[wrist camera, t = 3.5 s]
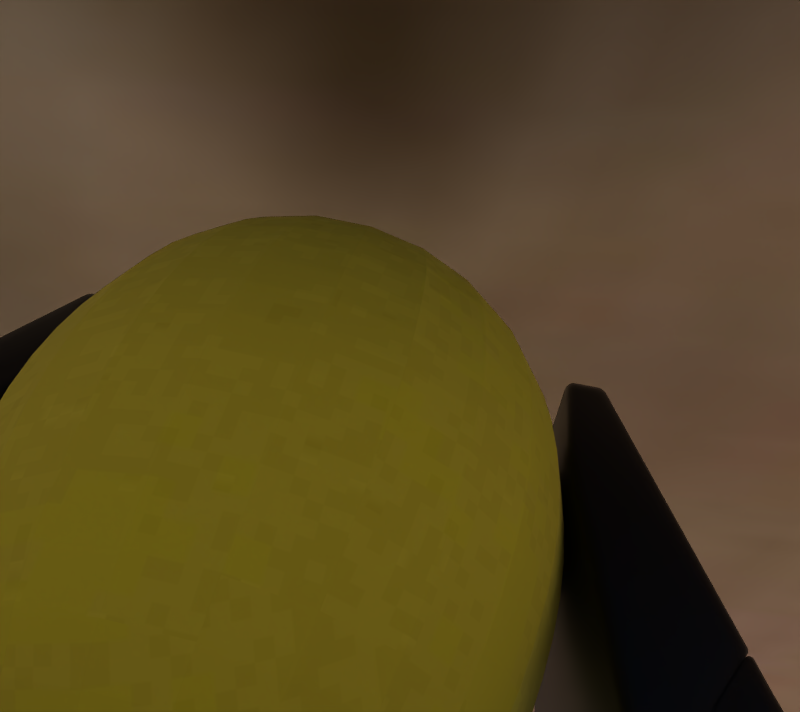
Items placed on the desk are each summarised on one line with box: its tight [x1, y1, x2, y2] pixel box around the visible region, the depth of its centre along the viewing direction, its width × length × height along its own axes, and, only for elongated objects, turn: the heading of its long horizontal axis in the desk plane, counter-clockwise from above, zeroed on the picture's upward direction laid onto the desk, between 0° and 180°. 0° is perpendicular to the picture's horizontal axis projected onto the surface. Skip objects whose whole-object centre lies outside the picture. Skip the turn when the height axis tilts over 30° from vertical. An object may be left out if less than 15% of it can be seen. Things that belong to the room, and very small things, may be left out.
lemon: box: [0, 216, 564, 712], centre depth 7 cm, size 6×6×8 cm
